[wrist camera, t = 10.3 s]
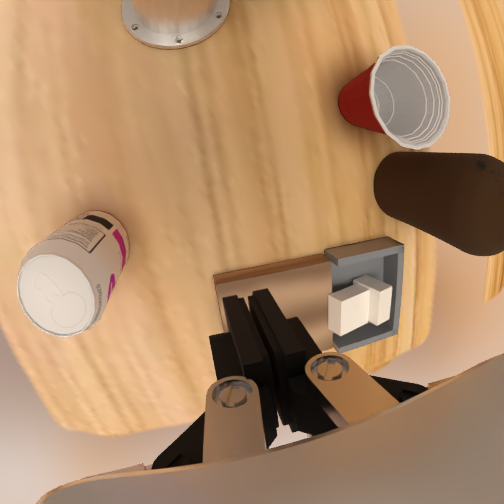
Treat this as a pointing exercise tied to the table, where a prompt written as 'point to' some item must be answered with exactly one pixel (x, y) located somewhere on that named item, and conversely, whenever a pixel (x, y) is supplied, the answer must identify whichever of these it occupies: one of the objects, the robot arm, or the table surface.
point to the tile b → (377, 298)
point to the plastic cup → (399, 98)
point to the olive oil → (446, 197)
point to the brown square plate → (287, 291)
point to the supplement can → (73, 274)
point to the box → (376, 266)
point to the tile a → (348, 309)
